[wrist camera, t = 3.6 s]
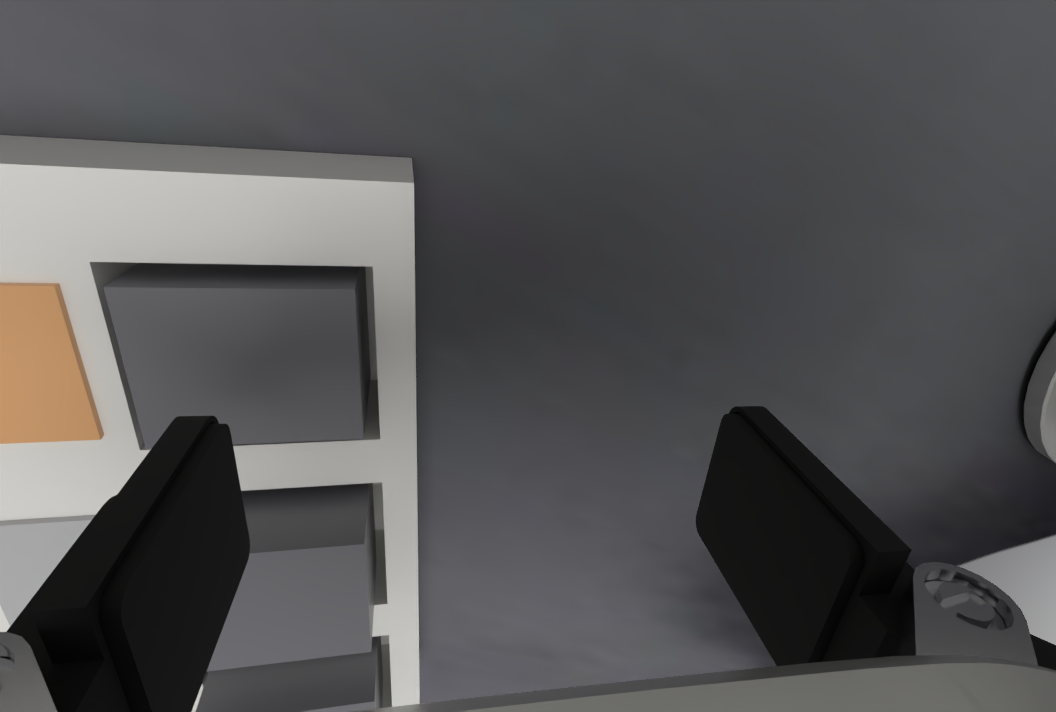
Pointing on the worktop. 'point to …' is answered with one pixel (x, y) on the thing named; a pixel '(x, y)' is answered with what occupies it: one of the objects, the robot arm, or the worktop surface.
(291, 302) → the button
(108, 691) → the robot arm
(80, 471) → the switch box
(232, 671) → the button
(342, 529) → the button
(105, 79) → the worktop surface
